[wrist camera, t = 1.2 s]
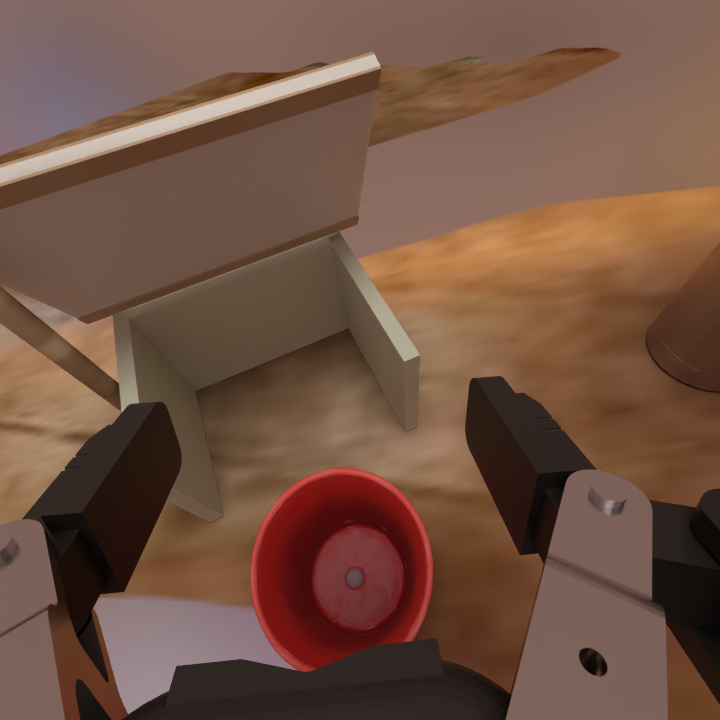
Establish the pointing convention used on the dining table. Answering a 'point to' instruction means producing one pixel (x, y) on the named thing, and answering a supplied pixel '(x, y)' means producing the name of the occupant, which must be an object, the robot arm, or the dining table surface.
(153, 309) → the cold frame
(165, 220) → the lid
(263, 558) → the flower pot
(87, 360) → the prop stick
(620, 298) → the dining table surface
